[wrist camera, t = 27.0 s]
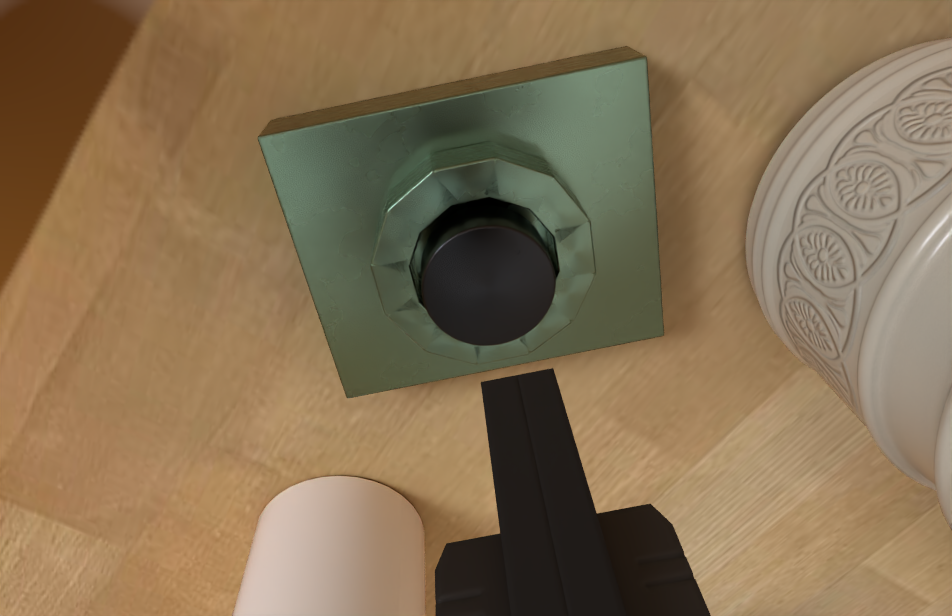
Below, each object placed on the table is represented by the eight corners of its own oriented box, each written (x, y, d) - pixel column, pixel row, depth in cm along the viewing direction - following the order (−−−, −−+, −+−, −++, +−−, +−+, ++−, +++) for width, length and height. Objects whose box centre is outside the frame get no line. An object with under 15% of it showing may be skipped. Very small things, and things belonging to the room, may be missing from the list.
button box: (351, 367, 28) (341, 430, 24) (269, 119, 23) (243, 153, 19) (647, 308, 27) (681, 363, 24) (628, 45, 23) (666, 65, 19)
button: (435, 329, 23) (437, 358, 21) (407, 218, 21) (407, 241, 19) (554, 305, 23) (564, 332, 21) (537, 192, 21) (546, 213, 19)
